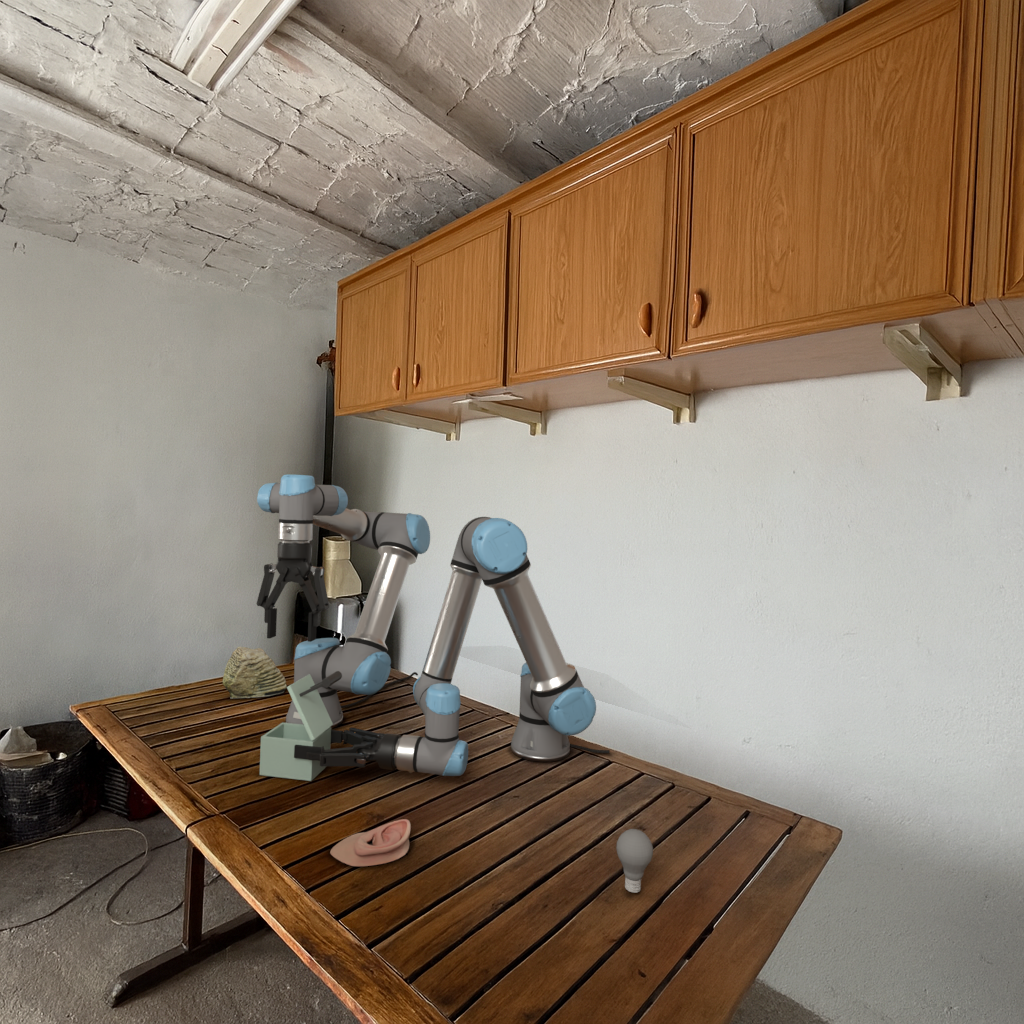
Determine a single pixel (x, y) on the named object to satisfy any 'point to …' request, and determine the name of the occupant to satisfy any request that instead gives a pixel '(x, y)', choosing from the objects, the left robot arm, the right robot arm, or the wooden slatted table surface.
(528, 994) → the wooden slatted table surface
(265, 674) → the fossil
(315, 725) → the lid
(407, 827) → the anatomical model
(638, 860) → the light bulb
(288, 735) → the chest
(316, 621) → the left robot arm
